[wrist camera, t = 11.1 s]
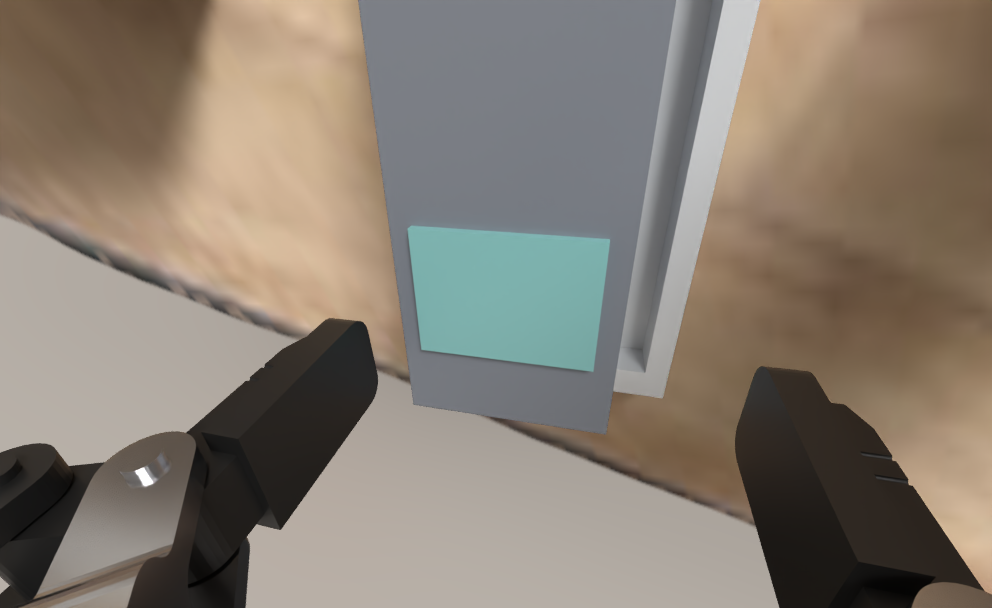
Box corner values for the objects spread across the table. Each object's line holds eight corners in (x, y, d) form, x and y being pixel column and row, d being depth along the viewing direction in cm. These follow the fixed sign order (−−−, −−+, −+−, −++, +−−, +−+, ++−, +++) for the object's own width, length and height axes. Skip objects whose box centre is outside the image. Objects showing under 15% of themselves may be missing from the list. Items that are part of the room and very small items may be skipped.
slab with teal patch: (677, -213, 9) (773, -583, 4) (606, 312, 16) (606, 440, 10) (453, -184, 10) (288, -449, 5) (473, 298, 17) (410, 409, 11)
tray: (832, -412, 8) (892, -540, 6) (657, 364, 17) (662, 398, 15) (363, -322, 10) (312, -403, 8) (428, 335, 19) (410, 362, 17)
